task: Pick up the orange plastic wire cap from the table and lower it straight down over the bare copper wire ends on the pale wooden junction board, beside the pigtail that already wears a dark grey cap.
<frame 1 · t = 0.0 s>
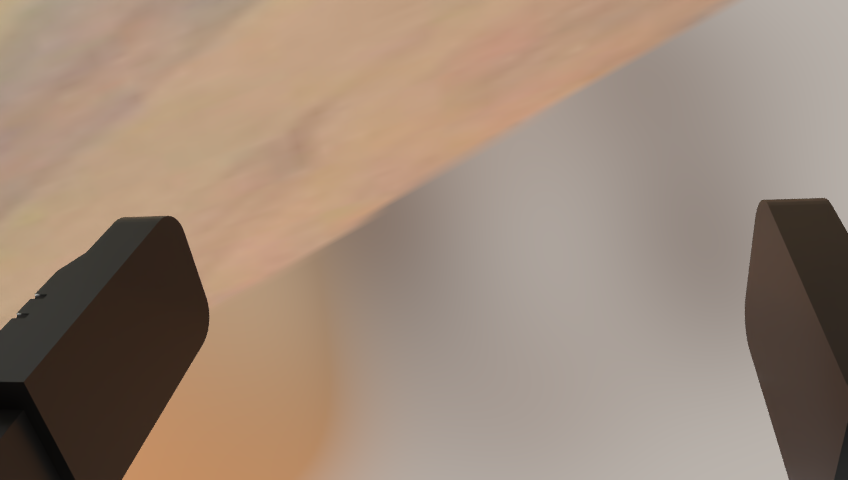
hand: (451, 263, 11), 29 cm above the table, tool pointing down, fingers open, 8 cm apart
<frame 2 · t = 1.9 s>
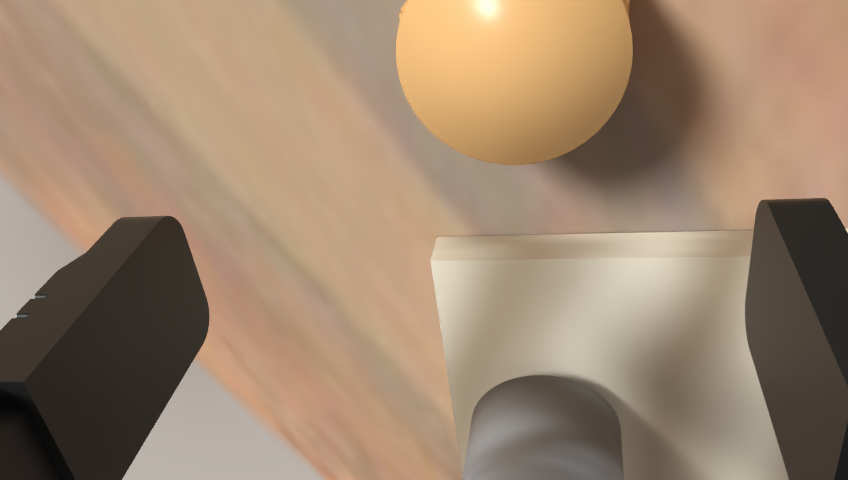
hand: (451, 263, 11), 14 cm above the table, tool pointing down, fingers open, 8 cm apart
junction board: (681, 389, 29), on the table
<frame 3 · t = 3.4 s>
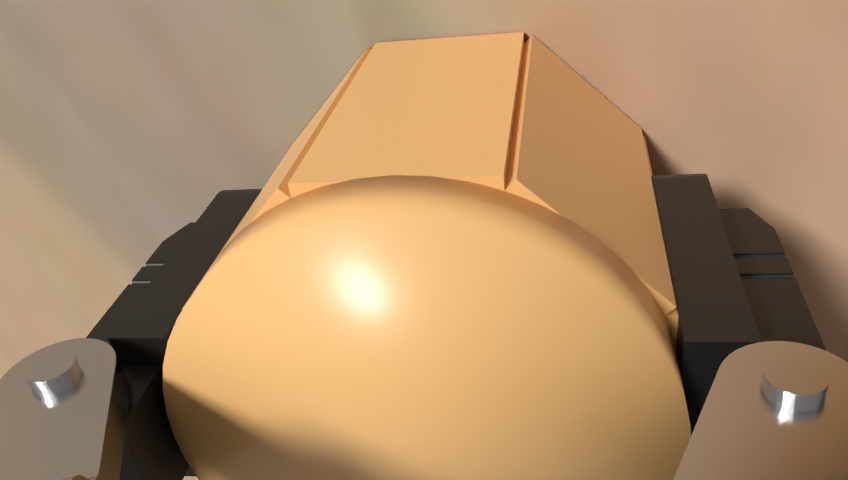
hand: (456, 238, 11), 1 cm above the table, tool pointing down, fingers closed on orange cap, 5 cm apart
orange cap: (466, 204, 12), on the table, touching gripper
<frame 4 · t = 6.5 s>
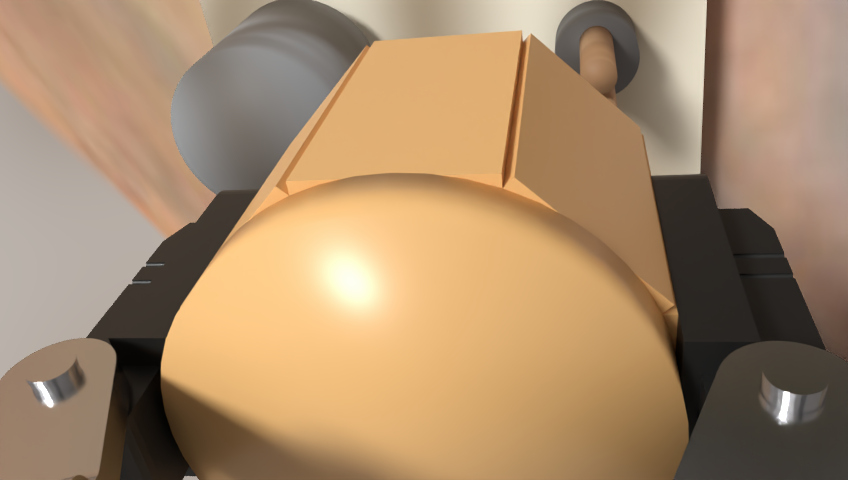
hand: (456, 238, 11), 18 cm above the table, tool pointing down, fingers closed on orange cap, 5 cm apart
junction board: (453, 39, 28), on the table
orange cap: (464, 202, 12), point 17 cm above the table, touching gripper
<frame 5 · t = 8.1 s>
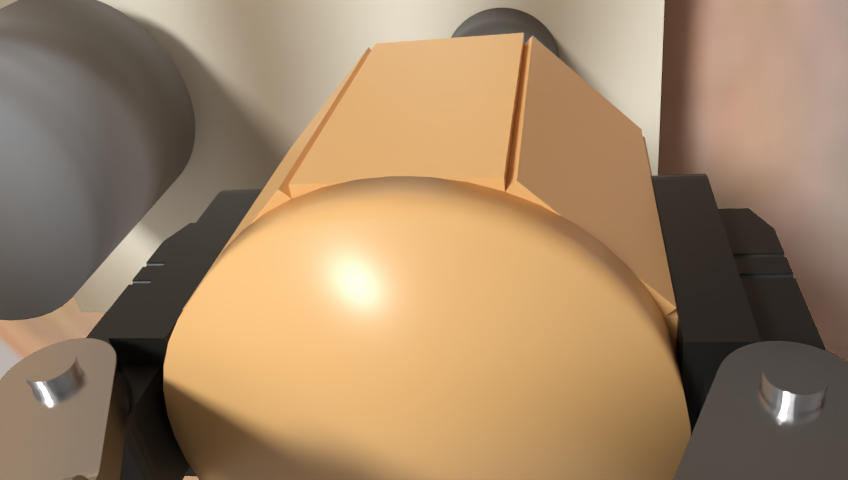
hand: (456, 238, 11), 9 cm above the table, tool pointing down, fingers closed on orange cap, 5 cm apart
junction board: (309, 57, 20), on the table
orange cap: (466, 204, 12), point 8 cm above the table, touching gripper
when the fingers open (4 cm above the table, at t = 9.5 s): orange cap stays where it is, resting on junction board.
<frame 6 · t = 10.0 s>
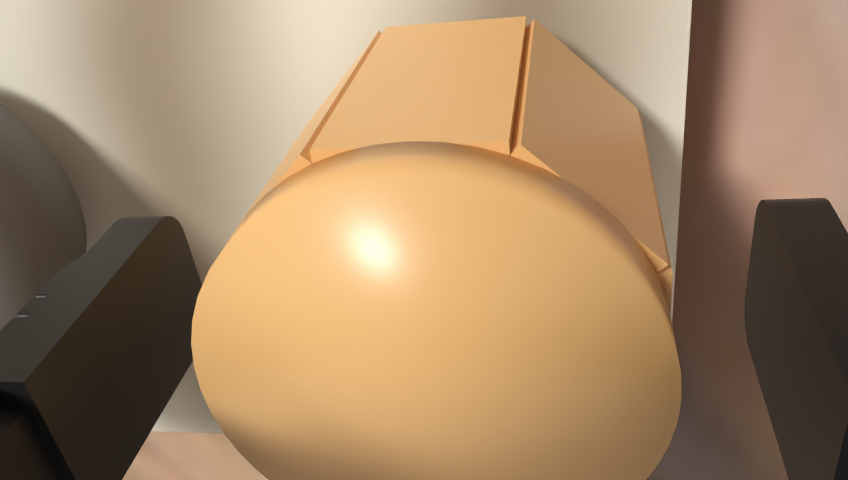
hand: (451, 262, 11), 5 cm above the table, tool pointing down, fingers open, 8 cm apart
junction board: (237, 136, 16), on the table
orange cap: (471, 182, 13), point 2 cm above the table, touching junction board
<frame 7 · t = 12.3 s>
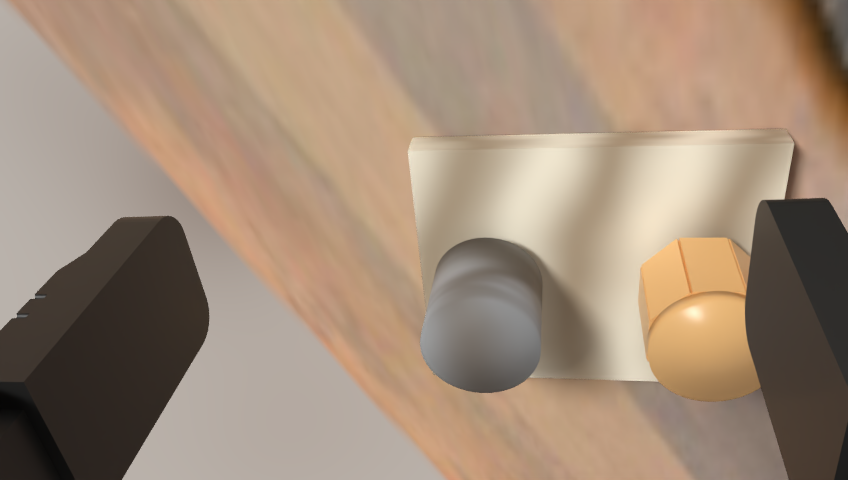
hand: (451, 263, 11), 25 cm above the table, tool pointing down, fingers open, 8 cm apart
junction board: (588, 257, 40), on the table
orange cap: (697, 285, 37), point 2 cm above the table, touching junction board
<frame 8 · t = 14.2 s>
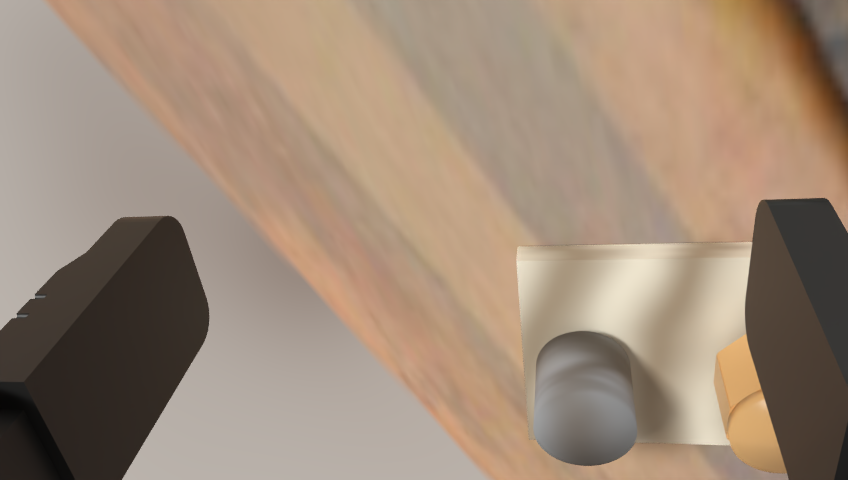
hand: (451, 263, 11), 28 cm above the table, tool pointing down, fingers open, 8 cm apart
junction board: (667, 341, 46), on the table
orange cap: (765, 369, 43), point 2 cm above the table, touching junction board
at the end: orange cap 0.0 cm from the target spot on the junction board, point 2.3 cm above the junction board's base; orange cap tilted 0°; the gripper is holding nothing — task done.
